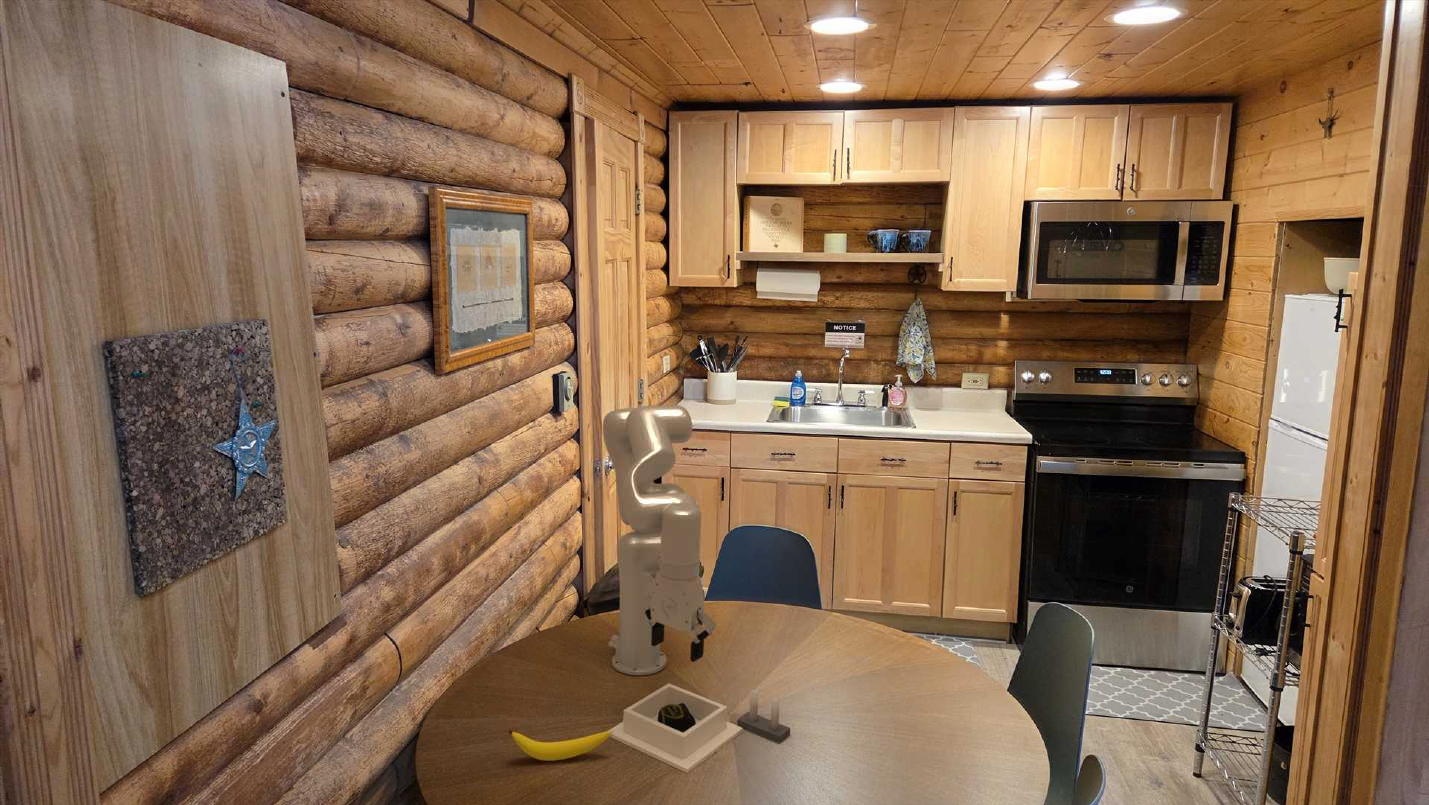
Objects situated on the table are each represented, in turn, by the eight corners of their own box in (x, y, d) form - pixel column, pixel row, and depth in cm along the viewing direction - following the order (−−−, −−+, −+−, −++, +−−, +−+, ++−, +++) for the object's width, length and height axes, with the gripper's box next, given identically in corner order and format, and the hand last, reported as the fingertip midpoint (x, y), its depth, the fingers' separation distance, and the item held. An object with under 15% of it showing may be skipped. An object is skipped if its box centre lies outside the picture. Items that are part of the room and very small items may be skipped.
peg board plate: (737, 726, 170) (738, 691, 168) (748, 718, 173) (749, 684, 172) (779, 743, 164) (781, 708, 163) (789, 735, 167) (791, 699, 166)
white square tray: (606, 735, 165) (607, 710, 164) (664, 699, 179) (665, 676, 178) (687, 773, 153) (688, 746, 152) (742, 731, 168) (743, 707, 167)
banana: (612, 760, 157) (613, 728, 156) (508, 767, 153) (507, 734, 152) (612, 751, 159) (612, 720, 158) (509, 758, 156) (509, 726, 155)
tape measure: (696, 735, 164) (697, 717, 164) (662, 740, 162) (663, 722, 162) (686, 717, 171) (686, 700, 170) (653, 722, 169) (654, 704, 168)
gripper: (632, 562, 163) (630, 644, 166) (704, 586, 153) (700, 673, 156) (657, 552, 169) (655, 631, 172) (727, 574, 159) (723, 658, 162)
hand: (676, 651), depth 164 cm, fingers open, 9 cm apart
